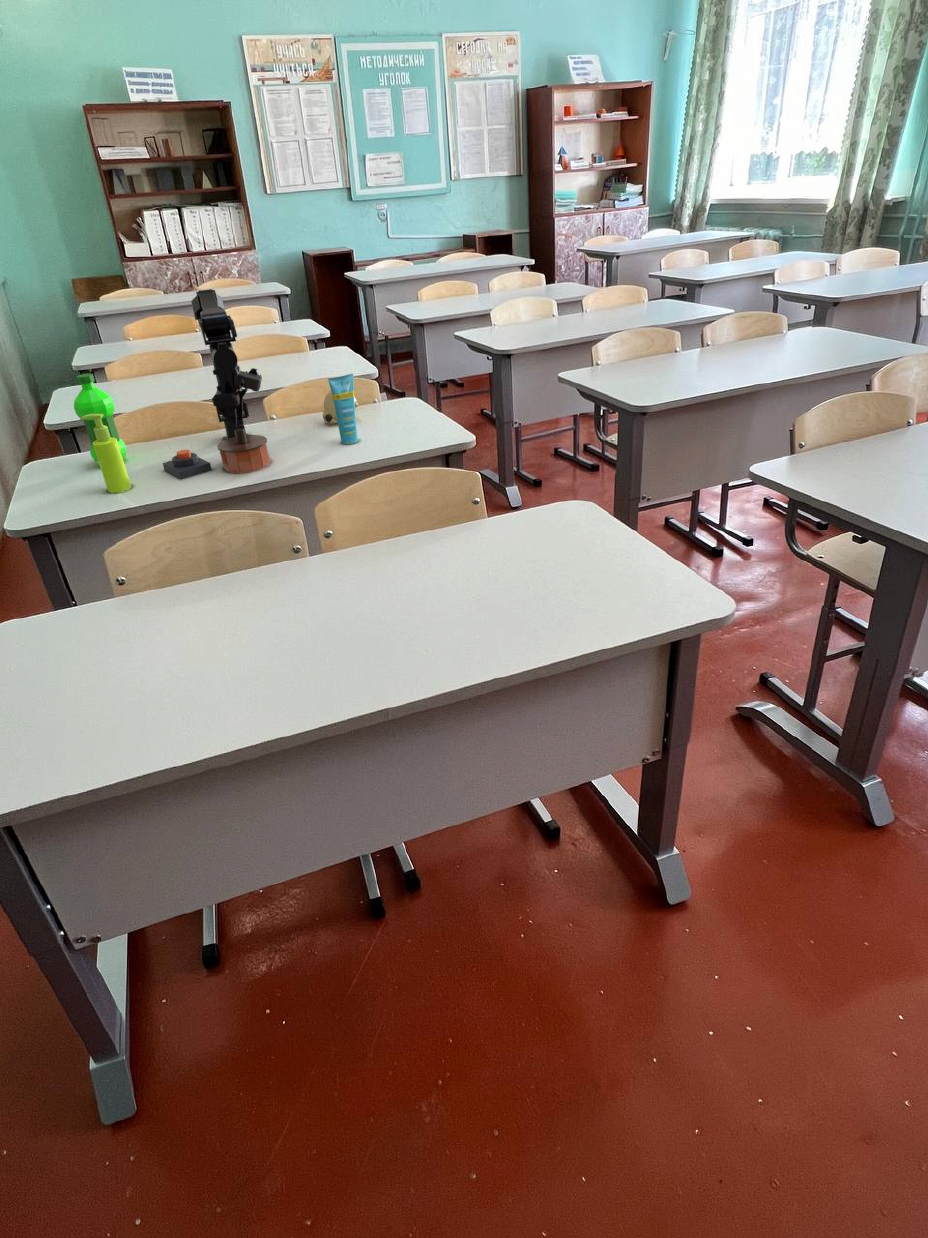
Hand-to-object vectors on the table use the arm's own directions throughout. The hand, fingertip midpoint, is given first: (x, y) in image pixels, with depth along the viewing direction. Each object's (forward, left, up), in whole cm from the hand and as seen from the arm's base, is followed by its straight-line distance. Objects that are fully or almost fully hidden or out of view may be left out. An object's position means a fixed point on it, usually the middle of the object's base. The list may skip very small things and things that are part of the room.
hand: (237, 422), depth 205 cm
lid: (0, 0, -6) cm, 6 cm away
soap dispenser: (-12, -32, -12) cm, 36 cm away
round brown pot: (0, 0, -12) cm, 12 cm away
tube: (+7, +30, -12) cm, 33 cm away
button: (-10, -13, -8) cm, 18 cm away
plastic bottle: (-35, -25, -12) cm, 45 cm away
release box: (-10, -13, -12) cm, 20 cm away
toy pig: (-12, +40, -12) cm, 44 cm away
